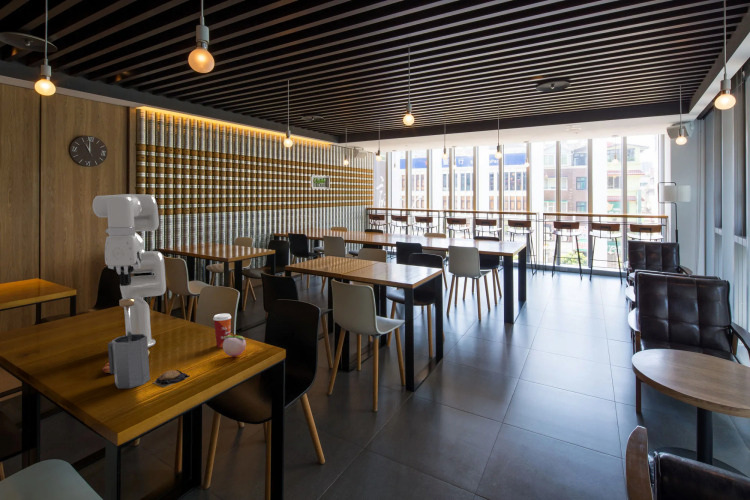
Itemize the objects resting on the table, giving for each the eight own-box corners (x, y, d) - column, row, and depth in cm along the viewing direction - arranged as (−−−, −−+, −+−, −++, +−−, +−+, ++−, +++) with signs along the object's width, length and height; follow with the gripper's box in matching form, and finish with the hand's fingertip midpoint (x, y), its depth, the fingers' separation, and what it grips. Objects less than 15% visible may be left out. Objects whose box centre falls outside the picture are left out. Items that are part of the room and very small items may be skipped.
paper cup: (226, 349, 170) (224, 318, 169) (210, 347, 172) (209, 317, 170) (236, 343, 178) (234, 313, 176) (221, 342, 179) (219, 312, 178)
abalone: (163, 389, 133) (163, 379, 133) (150, 383, 138) (150, 373, 137) (192, 378, 142) (192, 368, 142) (179, 373, 147) (179, 363, 146)
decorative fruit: (219, 361, 156) (218, 337, 155) (225, 354, 165) (224, 331, 163) (243, 360, 157) (242, 336, 156) (248, 353, 165) (247, 330, 164)
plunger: (112, 354, 133) (108, 302, 131) (126, 346, 141) (123, 297, 139) (134, 354, 133) (130, 302, 131) (147, 346, 141) (144, 297, 139)
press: (102, 388, 133) (99, 343, 131) (121, 376, 143) (118, 334, 141) (138, 388, 133) (135, 343, 131) (154, 376, 143) (151, 334, 141)
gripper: (92, 233, 129) (96, 287, 131) (137, 233, 129) (140, 287, 131) (107, 231, 136) (111, 283, 138) (150, 231, 136) (153, 283, 138)
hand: (125, 285), depth 134 cm, fingers closed
